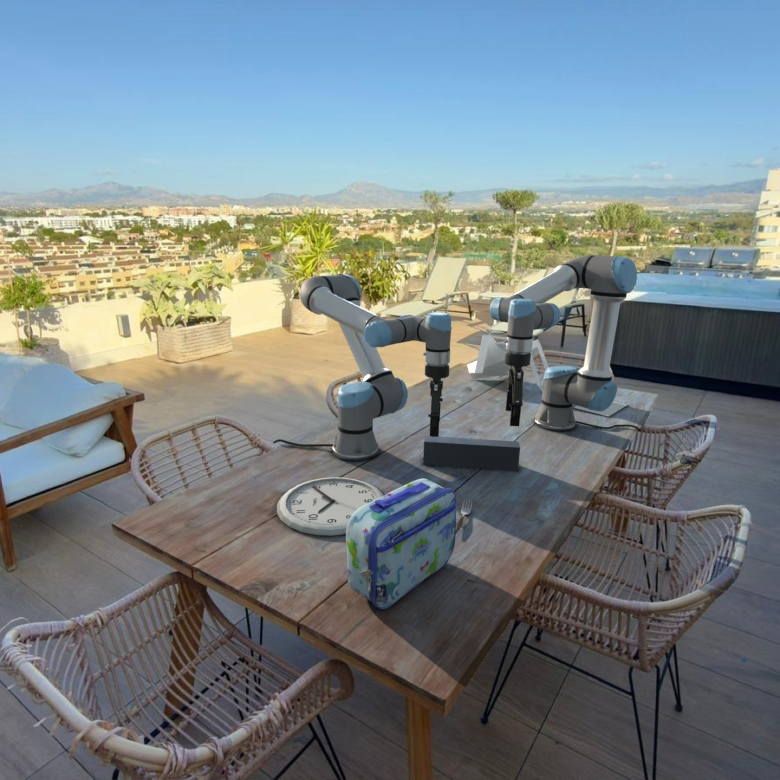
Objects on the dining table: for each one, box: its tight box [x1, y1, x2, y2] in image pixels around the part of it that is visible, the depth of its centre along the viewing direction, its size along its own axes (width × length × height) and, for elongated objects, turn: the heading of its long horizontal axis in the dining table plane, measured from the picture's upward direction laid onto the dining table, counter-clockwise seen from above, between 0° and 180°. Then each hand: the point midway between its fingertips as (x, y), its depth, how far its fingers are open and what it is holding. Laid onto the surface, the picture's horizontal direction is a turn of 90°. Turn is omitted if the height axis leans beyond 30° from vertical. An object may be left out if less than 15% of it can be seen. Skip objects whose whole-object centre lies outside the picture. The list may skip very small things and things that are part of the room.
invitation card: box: [573, 400, 628, 418], centre depth 226 cm, size 21×1×15 cm
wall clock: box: [276, 476, 385, 537], centre depth 143 cm, size 30×2×30 cm
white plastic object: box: [467, 334, 550, 392], centre depth 256 cm, size 37×45×31 cm
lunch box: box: [345, 477, 457, 610], centre depth 110 cm, size 26×11×21 cm, turn 134°
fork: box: [455, 498, 473, 536], centre depth 136 cm, size 3×16×2 cm, turn 160°
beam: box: [422, 435, 521, 472], centre depth 168 cm, size 30×5×8 cm, turn 83°
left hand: (434, 428), depth 167 cm, fingers open, 13 cm apart
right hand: (512, 418), depth 163 cm, fingers open, 13 cm apart
